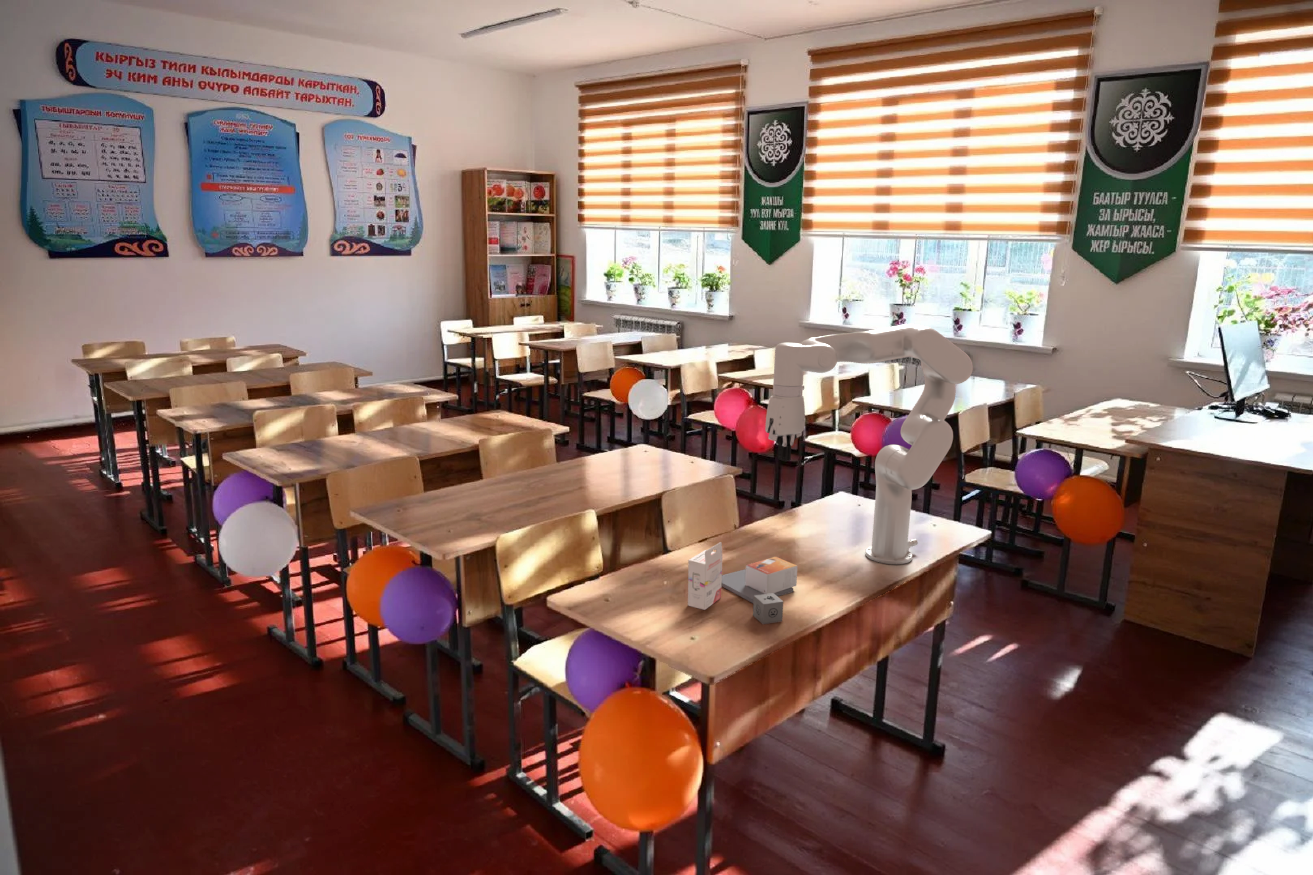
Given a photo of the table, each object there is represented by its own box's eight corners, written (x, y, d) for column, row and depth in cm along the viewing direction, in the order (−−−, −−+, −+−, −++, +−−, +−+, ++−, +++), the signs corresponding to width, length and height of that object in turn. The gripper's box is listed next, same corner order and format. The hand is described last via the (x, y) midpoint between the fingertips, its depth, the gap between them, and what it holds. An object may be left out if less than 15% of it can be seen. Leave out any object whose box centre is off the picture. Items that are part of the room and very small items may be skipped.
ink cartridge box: (703, 593, 213) (705, 537, 210) (721, 598, 211) (723, 541, 207) (686, 605, 206) (687, 547, 203) (704, 610, 204) (706, 551, 200)
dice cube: (782, 621, 199) (783, 601, 198) (762, 624, 197) (763, 604, 196) (772, 612, 203) (773, 592, 202) (752, 615, 202) (753, 595, 200)
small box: (798, 565, 215) (768, 574, 209) (797, 586, 216) (767, 596, 210) (775, 555, 221) (745, 564, 215) (774, 576, 222) (744, 585, 216)
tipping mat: (751, 571, 228) (751, 567, 228) (793, 591, 215) (793, 588, 215) (712, 581, 221) (712, 577, 221) (753, 603, 208) (753, 599, 208)
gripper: (799, 386, 229) (795, 453, 234) (756, 391, 221) (752, 460, 225) (819, 390, 223) (814, 459, 228) (775, 396, 215) (772, 467, 219)
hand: (784, 459), depth 226 cm, fingers closed
